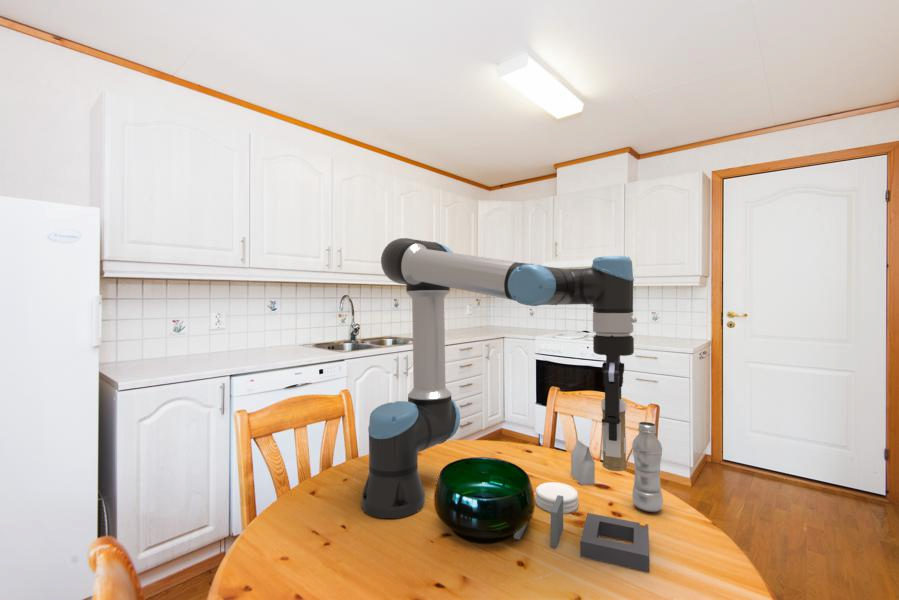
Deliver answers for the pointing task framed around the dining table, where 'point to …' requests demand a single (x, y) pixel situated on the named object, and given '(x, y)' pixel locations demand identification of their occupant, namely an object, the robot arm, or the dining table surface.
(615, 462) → the sprinkles bottle
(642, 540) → the port block
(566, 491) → the white round stack
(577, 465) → the grey gabled carton
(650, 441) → the plastic bottle
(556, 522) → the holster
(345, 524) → the dining table surface
